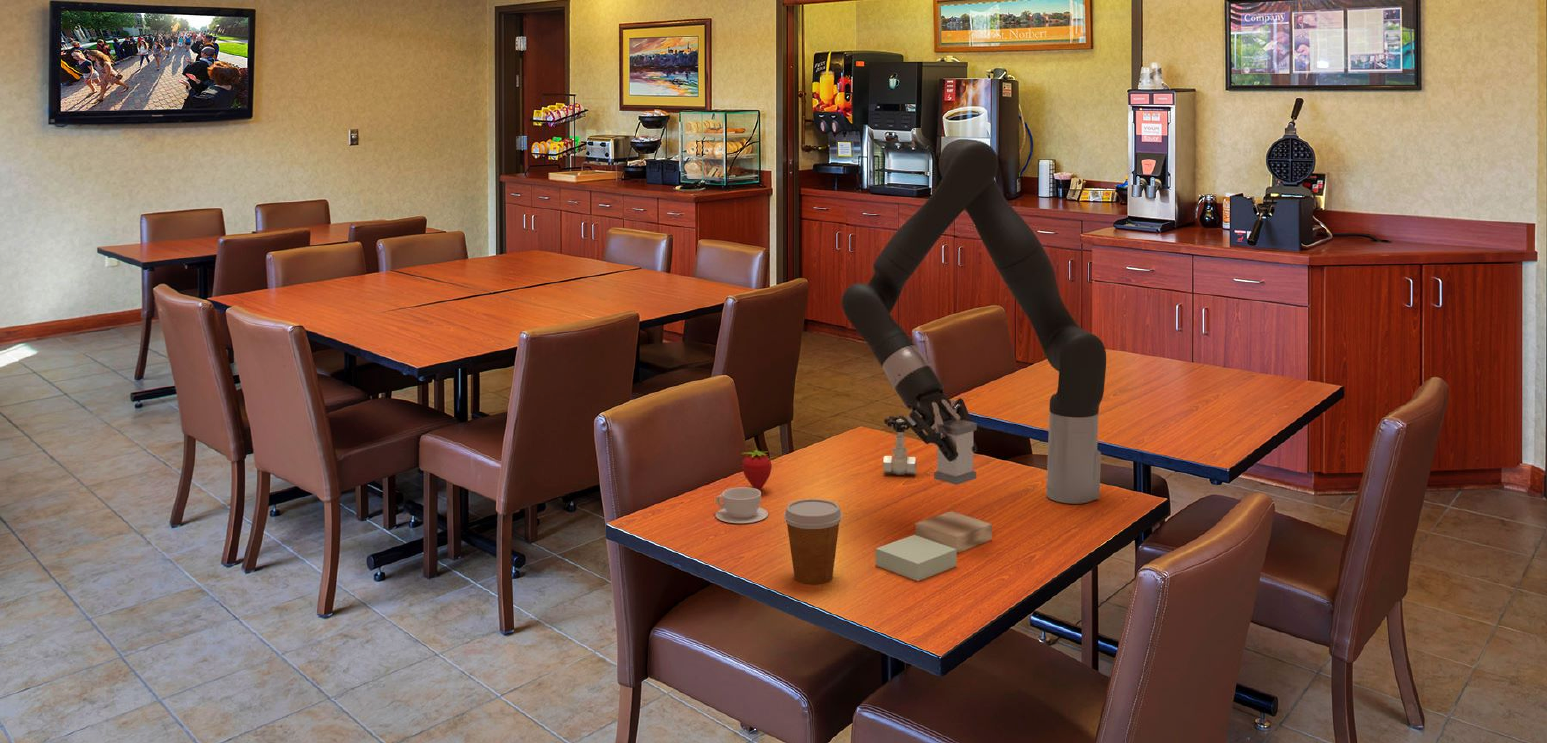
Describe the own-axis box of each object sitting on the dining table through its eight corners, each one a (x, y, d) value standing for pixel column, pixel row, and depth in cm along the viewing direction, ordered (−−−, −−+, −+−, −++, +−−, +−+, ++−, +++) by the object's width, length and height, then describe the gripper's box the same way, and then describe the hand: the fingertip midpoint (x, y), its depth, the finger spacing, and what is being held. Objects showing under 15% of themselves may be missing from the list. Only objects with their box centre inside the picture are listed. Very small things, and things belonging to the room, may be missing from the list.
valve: (914, 480, 246) (914, 424, 243) (882, 478, 247) (882, 422, 244) (916, 470, 252) (917, 415, 249) (885, 469, 253) (886, 414, 251)
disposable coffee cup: (782, 567, 200) (781, 499, 198) (838, 564, 201) (838, 496, 198) (787, 589, 191) (786, 518, 188) (846, 587, 192) (846, 516, 189)
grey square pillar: (953, 472, 213) (953, 417, 211) (976, 478, 209) (976, 423, 207) (934, 478, 210) (934, 423, 207) (956, 485, 206) (957, 429, 204)
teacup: (775, 510, 229) (774, 487, 228) (758, 527, 220) (757, 503, 219) (726, 506, 232) (725, 483, 231) (707, 523, 223) (707, 499, 222)
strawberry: (746, 498, 236) (744, 449, 234) (739, 487, 243) (738, 439, 241) (775, 496, 237) (774, 447, 235) (768, 484, 244) (767, 437, 242)
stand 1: (914, 551, 207) (914, 534, 206) (956, 566, 200) (956, 549, 199) (875, 565, 200) (875, 548, 200) (917, 581, 193) (918, 564, 193)
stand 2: (950, 526, 218) (950, 511, 218) (991, 540, 211) (992, 524, 211) (915, 539, 212) (915, 523, 212) (956, 553, 205) (956, 537, 204)
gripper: (895, 371, 206) (948, 452, 200) (950, 358, 215) (1002, 435, 209) (873, 396, 211) (924, 476, 205) (927, 382, 220) (978, 458, 214)
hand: (963, 455), depth 207 cm, fingers closed on grey square pillar, 4 cm apart
